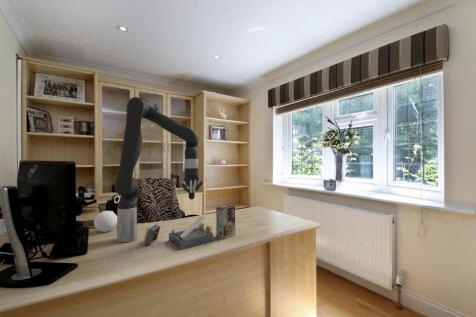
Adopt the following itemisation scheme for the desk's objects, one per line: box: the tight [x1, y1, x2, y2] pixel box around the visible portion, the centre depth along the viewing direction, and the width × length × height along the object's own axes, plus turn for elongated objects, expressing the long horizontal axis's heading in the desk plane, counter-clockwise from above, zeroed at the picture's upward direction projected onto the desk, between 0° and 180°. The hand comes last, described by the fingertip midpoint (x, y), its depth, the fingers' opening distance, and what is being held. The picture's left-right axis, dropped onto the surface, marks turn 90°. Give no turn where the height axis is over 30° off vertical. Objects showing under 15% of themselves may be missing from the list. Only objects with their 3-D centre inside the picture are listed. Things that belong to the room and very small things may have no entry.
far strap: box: [173, 225, 201, 234], centre depth 124 cm, size 15×3×1 cm, turn 127°
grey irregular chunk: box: [142, 222, 161, 246], centre depth 118 cm, size 9×5×9 cm, turn 176°
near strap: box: [180, 215, 205, 239], centre depth 116 cm, size 15×3×1 cm
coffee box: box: [215, 204, 236, 240], centre depth 128 cm, size 9×6×16 cm
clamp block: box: [168, 221, 214, 251], centre depth 120 cm, size 18×15×7 cm
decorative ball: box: [93, 210, 118, 233], centre depth 136 cm, size 12×12×12 cm
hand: (191, 199), depth 124 cm, fingers closed
